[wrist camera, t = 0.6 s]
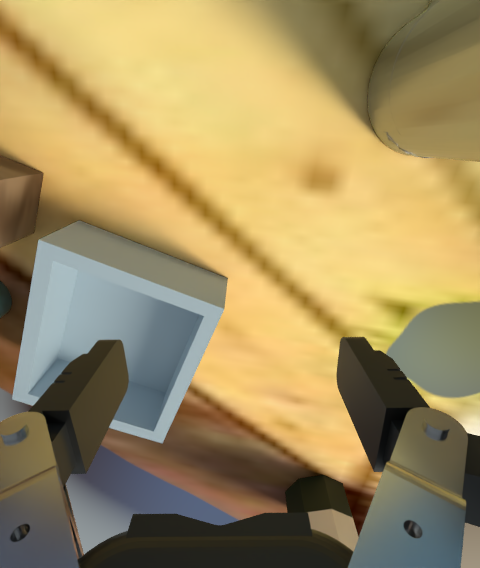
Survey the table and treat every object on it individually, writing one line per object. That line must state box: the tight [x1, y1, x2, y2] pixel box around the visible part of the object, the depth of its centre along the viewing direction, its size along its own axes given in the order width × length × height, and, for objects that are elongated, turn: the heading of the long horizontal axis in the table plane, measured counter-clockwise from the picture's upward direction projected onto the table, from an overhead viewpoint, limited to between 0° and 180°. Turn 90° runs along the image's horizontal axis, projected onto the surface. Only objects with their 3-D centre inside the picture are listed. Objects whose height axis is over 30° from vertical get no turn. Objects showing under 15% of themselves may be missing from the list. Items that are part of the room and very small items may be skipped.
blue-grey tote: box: [12, 220, 228, 443], centre depth 29 cm, size 16×14×6 cm
